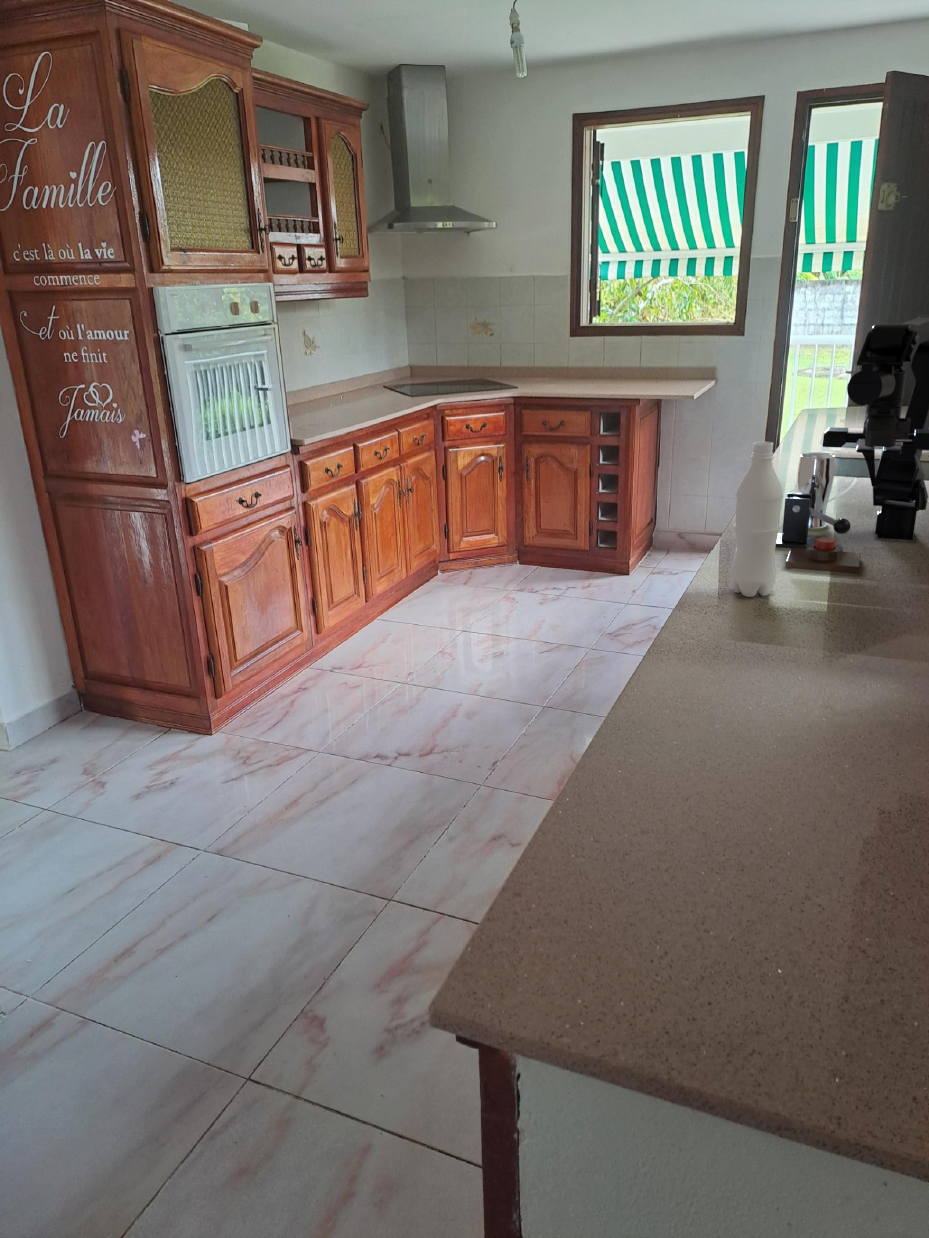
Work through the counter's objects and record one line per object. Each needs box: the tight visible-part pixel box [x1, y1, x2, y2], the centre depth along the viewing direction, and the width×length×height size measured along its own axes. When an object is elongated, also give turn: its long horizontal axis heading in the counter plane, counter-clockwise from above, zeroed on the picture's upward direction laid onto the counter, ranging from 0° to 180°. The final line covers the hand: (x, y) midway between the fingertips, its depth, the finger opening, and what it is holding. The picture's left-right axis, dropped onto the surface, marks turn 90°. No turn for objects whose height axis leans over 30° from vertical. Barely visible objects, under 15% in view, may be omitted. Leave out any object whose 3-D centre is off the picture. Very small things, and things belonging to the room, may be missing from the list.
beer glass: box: [796, 451, 836, 530], centre depth 182 cm, size 7×7×15 cm
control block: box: [785, 543, 861, 574], centre depth 159 cm, size 12×9×4 cm
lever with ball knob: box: [793, 496, 851, 535], centre depth 169 cm, size 12×3×3 cm, turn 66°
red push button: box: [815, 537, 836, 550], centre depth 158 cm, size 3×3×2 cm
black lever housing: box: [775, 492, 827, 549], centre depth 171 cm, size 11×8×10 cm
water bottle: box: [730, 441, 784, 598], centre depth 144 cm, size 7×7×25 cm
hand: (874, 486), depth 160 cm, fingers closed
